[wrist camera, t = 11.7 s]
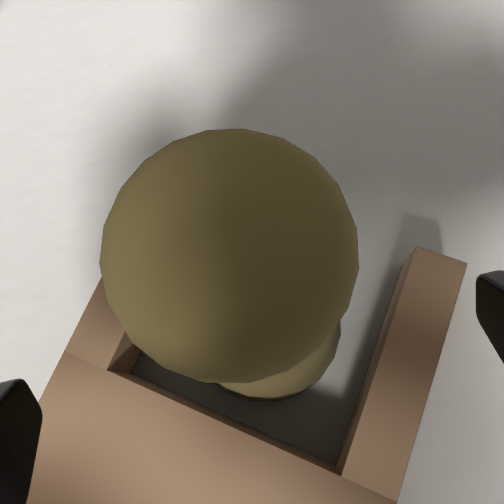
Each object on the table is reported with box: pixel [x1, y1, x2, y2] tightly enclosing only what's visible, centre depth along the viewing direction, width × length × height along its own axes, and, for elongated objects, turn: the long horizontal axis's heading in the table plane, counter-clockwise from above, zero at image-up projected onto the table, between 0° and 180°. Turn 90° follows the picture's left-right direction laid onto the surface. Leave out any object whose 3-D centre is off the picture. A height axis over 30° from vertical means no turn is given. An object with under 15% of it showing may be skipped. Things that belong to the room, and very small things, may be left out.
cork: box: [99, 129, 359, 401], centre depth 13 cm, size 6×6×11 cm
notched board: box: [26, 247, 467, 504], centre depth 16 cm, size 20×12×2 cm, turn 158°
